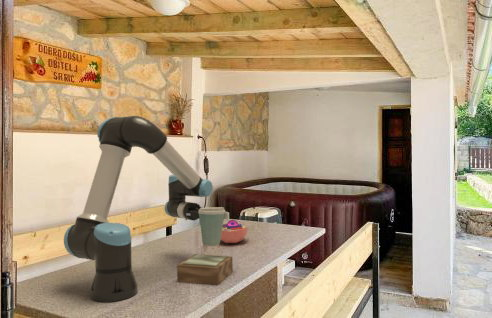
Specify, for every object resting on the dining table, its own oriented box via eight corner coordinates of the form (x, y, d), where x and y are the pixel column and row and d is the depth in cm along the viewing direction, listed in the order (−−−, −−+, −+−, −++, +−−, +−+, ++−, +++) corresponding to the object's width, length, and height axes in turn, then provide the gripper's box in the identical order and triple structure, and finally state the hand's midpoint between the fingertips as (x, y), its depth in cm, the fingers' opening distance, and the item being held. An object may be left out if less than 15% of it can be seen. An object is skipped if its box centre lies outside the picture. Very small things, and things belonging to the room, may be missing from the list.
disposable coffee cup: (193, 244, 160) (193, 206, 160) (216, 240, 166) (216, 204, 166) (206, 249, 151) (206, 209, 151) (230, 245, 157) (230, 207, 157)
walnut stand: (218, 284, 144) (217, 267, 143) (177, 281, 148) (177, 264, 148) (232, 271, 159) (232, 255, 159) (195, 269, 164) (195, 253, 163)
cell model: (210, 246, 202) (209, 224, 202) (222, 237, 221) (221, 217, 221) (242, 247, 198) (242, 224, 198) (251, 238, 217) (251, 218, 217)
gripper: (204, 217, 181) (240, 223, 164) (173, 221, 170) (208, 228, 153) (204, 200, 181) (239, 205, 164) (173, 204, 170) (207, 209, 153)
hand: (224, 216), depth 159 cm, fingers closed on disposable coffee cup, 3 cm apart
